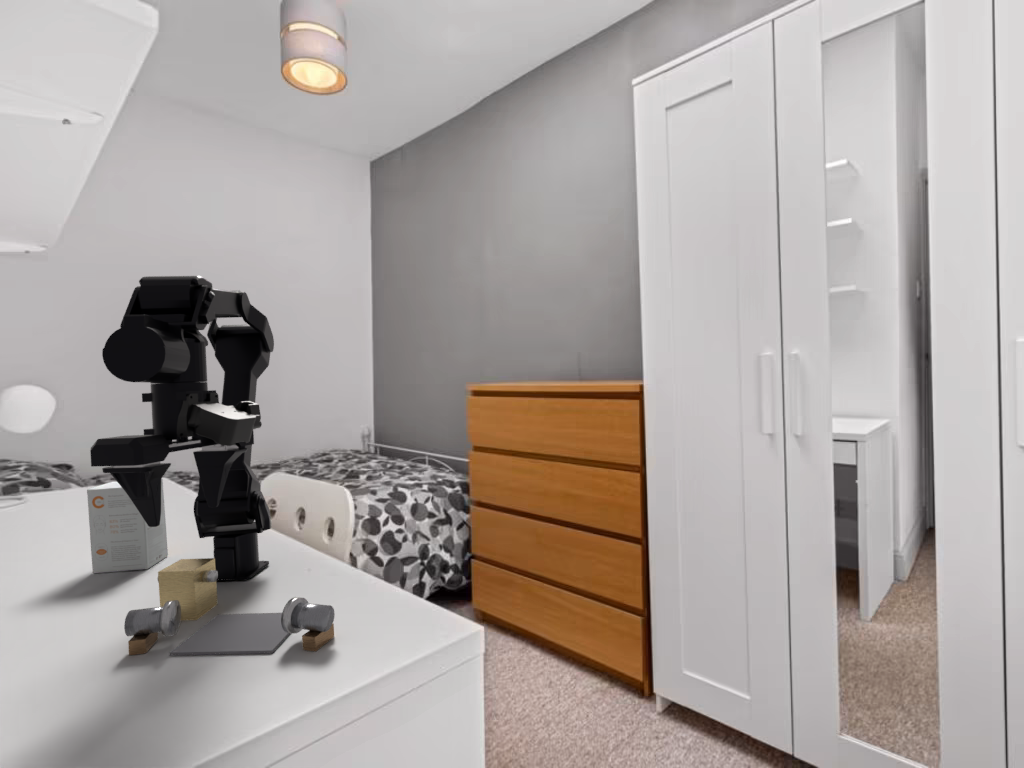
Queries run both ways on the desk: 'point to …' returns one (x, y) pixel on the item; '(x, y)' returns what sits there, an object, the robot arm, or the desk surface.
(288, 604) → the shaft
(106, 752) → the desk surface
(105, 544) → the small box
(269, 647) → the mat
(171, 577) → the coupler
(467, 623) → the desk surface
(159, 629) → the shaft
